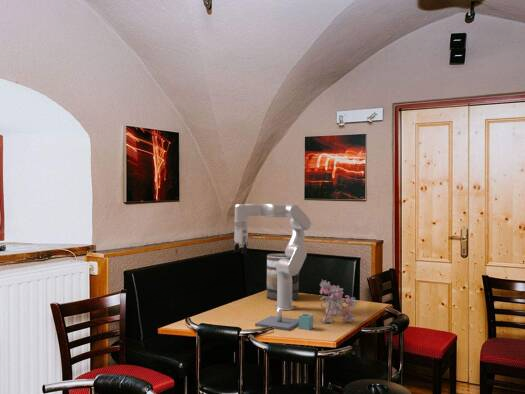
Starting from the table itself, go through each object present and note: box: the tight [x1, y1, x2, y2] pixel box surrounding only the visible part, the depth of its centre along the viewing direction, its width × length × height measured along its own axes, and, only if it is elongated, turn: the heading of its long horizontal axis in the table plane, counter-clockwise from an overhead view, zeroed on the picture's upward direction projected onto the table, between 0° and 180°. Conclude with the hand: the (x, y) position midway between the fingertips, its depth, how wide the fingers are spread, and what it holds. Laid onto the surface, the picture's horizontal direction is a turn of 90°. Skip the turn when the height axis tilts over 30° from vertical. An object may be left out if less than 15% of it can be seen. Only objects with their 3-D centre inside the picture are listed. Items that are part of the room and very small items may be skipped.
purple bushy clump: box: [320, 295, 338, 316], centre depth 313 cm, size 12×9×12 cm
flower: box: [319, 279, 357, 324], centre depth 290 cm, size 20×22×25 cm
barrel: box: [266, 252, 300, 302], centre depth 358 cm, size 22×22×30 cm
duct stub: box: [276, 309, 283, 322], centre depth 284 cm, size 3×3×7 cm
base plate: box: [254, 315, 299, 332], centre depth 284 cm, size 20×20×2 cm
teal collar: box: [298, 313, 314, 331], centre depth 277 cm, size 6×6×7 cm
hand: (240, 252), depth 308 cm, fingers open, 9 cm apart
